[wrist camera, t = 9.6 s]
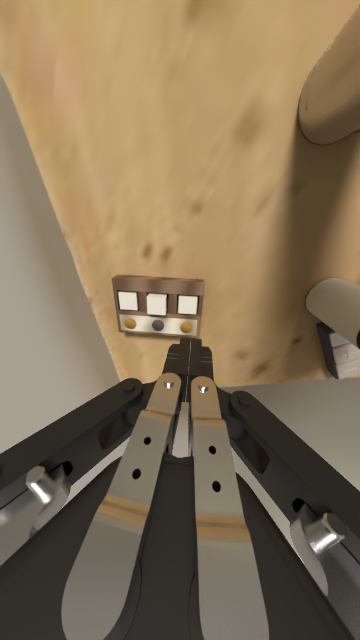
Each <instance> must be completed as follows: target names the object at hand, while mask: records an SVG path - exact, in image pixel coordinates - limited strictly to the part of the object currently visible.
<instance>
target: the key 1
mask: <svg viewBox="0 0 360 640" xmlns="http://www.w3.org/2000/svg"><path fill="white" fill-rule="evenodd" d="M118 295H119V303H120V309H125V310H138V309H139V294H138V292H137V291H119V292H118Z"/></svg>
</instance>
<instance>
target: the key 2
mask: <svg viewBox="0 0 360 640" xmlns="http://www.w3.org/2000/svg"><path fill="white" fill-rule="evenodd" d="M197 298H198V297H197V295H183V294H179V307H178V313H183V314H196V309H197Z"/></svg>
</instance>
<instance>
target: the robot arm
mask: <svg viewBox="0 0 360 640" xmlns="http://www.w3.org/2000/svg"><path fill="white" fill-rule="evenodd" d="M299 123H300V127H301V129H302V132H303V133H304V135H305V136H306V137H307V139H309V140H310V141H312V142H314V143H317V144H329V143H333V142H336V141H338V140H340V139H342V138H343V137H345V136H347V135H348V134H350V133H352V132H353V131H355V130H360V5H359V7H358V8H357V9H356V11H355V12H354V13H353V15H352V16H351V17H350V19H349V20H348V21H347V23H346V24H345V25H344V27H343V28H342V29H341V31H340V32H339V33H338V35H337V36H336V37H335V39H334V40H333V41H332V43H331V44H330V46H329V47H328V48H327V50H326V51H325V52H324V54H323V55H322V56H321V58H320V59H319V60H318V62H317V63H316V64H315V66H314V68H313V69H312V71H311V72H310V74H309V76H308V78H307V80H306V82H305V84H304V87H303V90H302V93H301V96H300V102H299ZM190 343H191V351H190ZM189 356H190V361H189ZM188 367H189V372H188ZM187 377H188V384H187ZM186 387H187V397H186ZM185 397H186V402H189V413H188V443H189V444H188V445H189V446H188V457H183V458H177V457H175V456H173V455H172V450H173V444H174V439H175V433H176V429H177V424H178V419H179V414H180V410H181V403H182V402H185ZM128 437H130V439H129V441H128V444H127V446H126V449H125V451H124V454H123V456H121V457H119V458H118V459H116V460H115V461H113V462H112V463H110V464H109V465H108V466H107V467H106V468H105V469H104V470H103V471H102V472H100V473H99V474H98V475H97V476H96V477H95V478H94V479H93V480H92V481H91V482H90V483H89V484H88V485H87V486H86V487H84V488H83V489H82V490H81V491H80V492H79V493H78V494H77V495H76V496H75V497H74V498H73V499H72V500H71V501H69V502H68V503H67V504H66V505H65V506H64V507H63V508H62V506H63V505H64V503H65V502H66V500H67V498H68V496H69V493H70V488H71V486H72V485H73V484H74V483H75V482H76V481H77V480H79V479H80V478H81V477H82V476H83V475H84V474H86V473H87V472H88V471H89V470H91V469H92V468H93V467H94V466H95V465H96V464H98V463H99V462H100V461H101V460H102V459H104V458H105V457H106V456H107V455H108V454H110V453H111V452H112V451H113V450H114V449H115V448H117V447H118V446H119V445H120V444H121V443H123V442H124V441H125V440H126V439H127V438H128ZM230 445H231V447H232V448H233V449H234V451H235V452H236V453H237V454H238V456H239V457H240V458H241V459H242V461H243V462H244V463H245V465H246V466H247V467H248V469H249V470H250V471H251V472H252V474H253V475H254V476H255V478H256V479H257V480H258V482H259V483H260V484H261V485H262V487H263V488H264V489H265V491H266V492H267V493H268V494H269V496H270V497H271V498H272V500H273V501H274V502H275V503H276V505H277V506H278V507H279V508H280V510H281V511H282V512H283V514H284V515H285V516H286V518H287V519H288V520H289V521H290V533H291V538H292V541H293V544H294V546H295V548H296V550H297V552H298V553H299V555H300V557H301V558H302V560H303V561H304V563H305V565H304V564H303V563H302V561H301V560H300V558H299V557H298V555H297V554H296V553H295V551H294V550H293V548H292V547H291V545H290V544H289V543H288V541H287V540H286V538H285V537H284V535H283V534H282V532H281V531H280V529H279V528H278V527H277V525H276V524H275V522H274V521H273V519H272V518H271V516H270V515H269V513H268V512H267V511H266V509H265V508H264V506H263V505H262V503H261V502H260V500H259V499H258V498H257V496H256V495H255V493H254V492H253V490H252V489H251V488H250V486H249V485H248V484H247V483H246V481H244V479H243V478H242V477H241V476H240V475H239V474H237V473H236V472H235V468H234V463H233V458H232V452H231V447H230ZM61 508H62V509H61ZM60 509H61V510H60ZM59 510H60V511H59ZM58 511H59V512H58ZM57 512H58V513H57ZM56 513H57V514H56ZM305 566H306V567H305ZM0 640H360V491H359V490H357V489H356V488H355V487H354V486H353V485H352V484H351V483H350V482H349V481H347V480H346V479H345V478H344V477H343V476H342V475H341V474H340V473H339V472H337V471H336V470H335V469H334V468H333V467H332V466H331V465H330V464H328V463H327V462H326V461H325V460H324V459H323V458H322V457H321V456H319V455H318V454H317V453H316V452H315V451H314V450H313V449H312V448H311V447H309V446H308V445H307V444H306V443H305V442H303V440H302V439H301V438H299V437H298V436H297V435H296V434H295V433H294V432H293V431H292V430H290V429H289V428H288V427H287V426H286V425H285V424H284V423H282V422H281V421H280V420H279V419H278V418H277V417H276V416H275V415H274V414H273V413H271V412H270V411H269V410H268V409H267V408H266V407H265V406H264V405H262V404H261V403H260V402H259V401H258V400H257V399H256V398H255V397H253V396H252V395H251V394H249V393H247V392H245V391H235V392H233V393H232V394H230V393H228V392H225V391H223V390H221V389H220V388H218V387H217V385H216V384H215V382H214V378H213V364H212V352H211V350H210V349H209V347H204V346H202V339H192V340H191V338H181V340H180V344H172V345H171V346H170V347H169V350H168V354H167V358H166V361H165V365H164V369H163V372H162V375H161V376H159V378H158V379H157V380H156V381H154V382H152V383H146V384H142V383H141V381H140V380H138V379H135V378H129V379H125V380H123V381H122V382H120V383H118V384H117V385H115V386H114V387H112V388H110V389H108V390H106V391H105V392H103V393H102V394H100V395H98V396H96V397H95V398H93V399H91V400H90V401H88V402H86V403H85V404H83V405H82V406H80V407H78V408H76V409H75V410H73V411H71V412H70V413H68V414H66V415H65V416H63V417H61V418H60V419H58V420H57V421H55V422H53V423H51V424H50V425H48V426H46V427H45V428H43V429H41V430H40V431H38V432H36V433H35V434H33V435H31V436H30V437H28V438H26V439H24V440H23V441H21V442H19V443H18V444H16V445H15V446H13V447H11V448H9V449H8V450H6V451H4V452H3V453H1V454H0Z"/></svg>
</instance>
